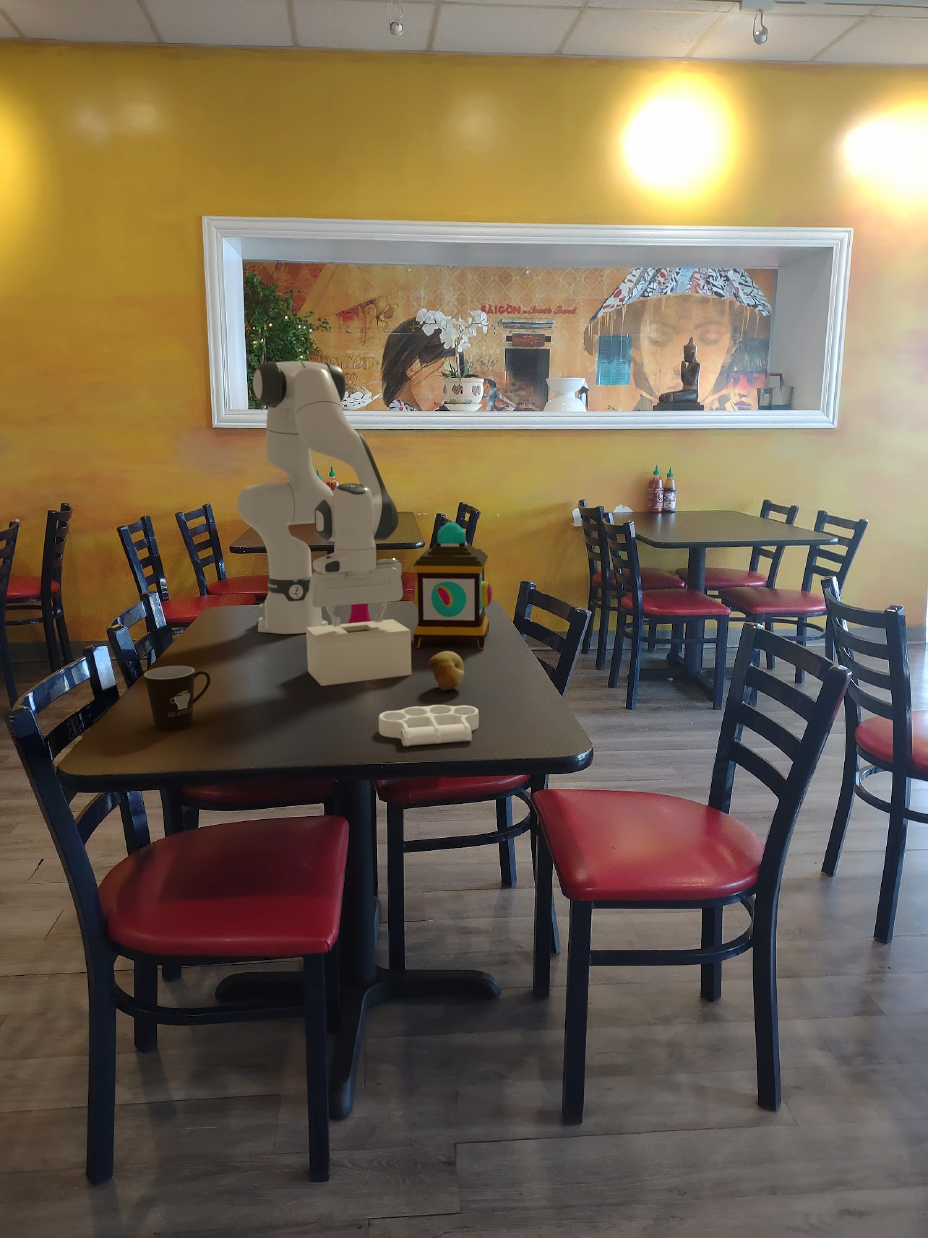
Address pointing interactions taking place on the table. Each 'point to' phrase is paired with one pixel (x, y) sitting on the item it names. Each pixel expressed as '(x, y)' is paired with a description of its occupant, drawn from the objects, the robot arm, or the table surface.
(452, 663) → the fruit
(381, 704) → the table surface
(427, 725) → the knuckle duster
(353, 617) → the pepper mill
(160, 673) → the coffee mug
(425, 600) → the decorative lantern
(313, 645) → the coin box
